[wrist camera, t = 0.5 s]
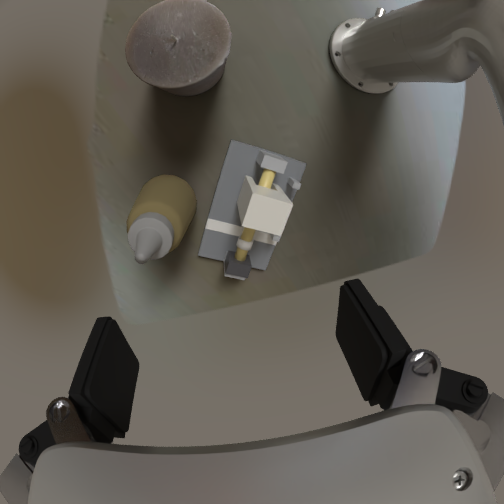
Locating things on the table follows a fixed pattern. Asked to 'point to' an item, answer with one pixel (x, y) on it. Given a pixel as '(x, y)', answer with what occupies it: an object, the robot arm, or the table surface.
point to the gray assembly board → (227, 214)
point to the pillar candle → (179, 46)
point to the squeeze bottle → (160, 217)
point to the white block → (263, 207)
